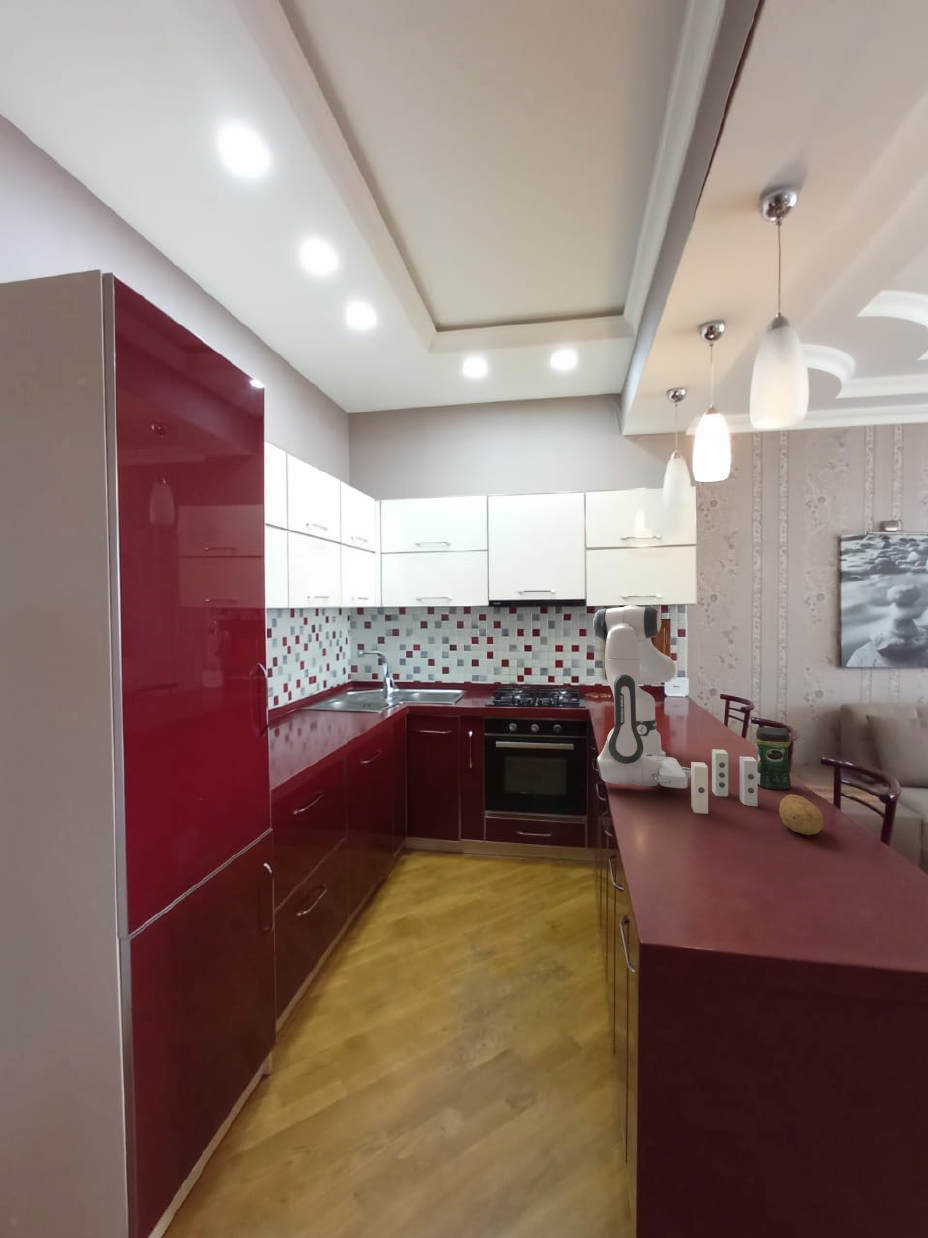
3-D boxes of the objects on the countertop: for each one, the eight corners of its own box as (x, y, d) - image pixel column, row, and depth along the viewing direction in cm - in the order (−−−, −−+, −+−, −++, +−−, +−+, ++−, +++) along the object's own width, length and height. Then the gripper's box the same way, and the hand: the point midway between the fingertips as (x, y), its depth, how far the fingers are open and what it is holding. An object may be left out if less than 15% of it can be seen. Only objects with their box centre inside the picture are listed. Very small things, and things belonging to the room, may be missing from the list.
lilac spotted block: (739, 800, 161) (739, 756, 161) (752, 800, 160) (752, 756, 160) (744, 805, 156) (744, 761, 156) (757, 806, 156) (757, 761, 155)
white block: (712, 790, 169) (711, 749, 169) (724, 791, 168) (724, 749, 168) (715, 796, 164) (715, 753, 164) (728, 796, 164) (728, 754, 163)
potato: (789, 842, 133) (789, 809, 133) (771, 819, 146) (771, 790, 146) (834, 845, 130) (834, 812, 130) (812, 822, 144) (812, 792, 144)
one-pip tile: (691, 807, 156) (691, 762, 156) (704, 807, 156) (704, 762, 155) (694, 813, 152) (694, 766, 151) (708, 814, 151) (708, 767, 151)
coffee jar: (787, 783, 175) (787, 726, 174) (793, 791, 167) (793, 731, 167) (753, 780, 178) (753, 724, 178) (757, 788, 171) (757, 729, 170)
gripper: (655, 771, 160) (705, 773, 157) (646, 752, 180) (690, 754, 177) (655, 792, 160) (705, 795, 158) (646, 771, 180) (690, 773, 178)
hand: (697, 773), depth 168 cm, fingers closed
